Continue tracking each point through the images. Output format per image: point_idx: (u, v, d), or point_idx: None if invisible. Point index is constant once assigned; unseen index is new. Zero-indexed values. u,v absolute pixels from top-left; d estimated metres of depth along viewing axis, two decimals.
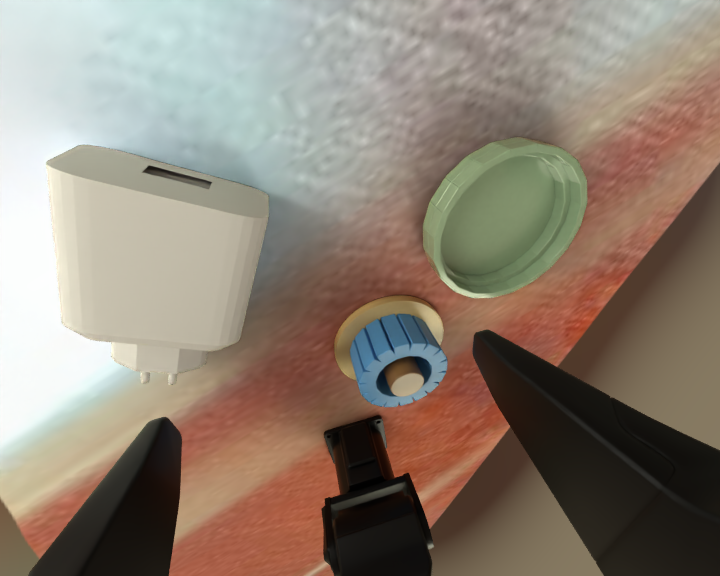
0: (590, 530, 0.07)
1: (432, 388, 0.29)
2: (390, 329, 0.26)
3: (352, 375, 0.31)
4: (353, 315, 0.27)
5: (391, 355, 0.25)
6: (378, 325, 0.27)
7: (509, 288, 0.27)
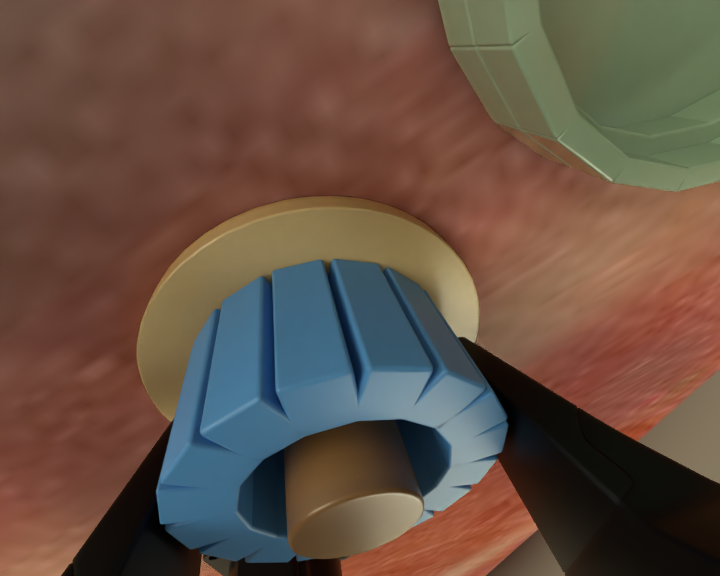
0: (558, 541, 0.07)
1: (450, 502, 0.09)
2: (289, 309, 0.07)
3: None
4: (175, 263, 0.08)
5: (271, 423, 0.05)
6: (254, 295, 0.07)
7: None
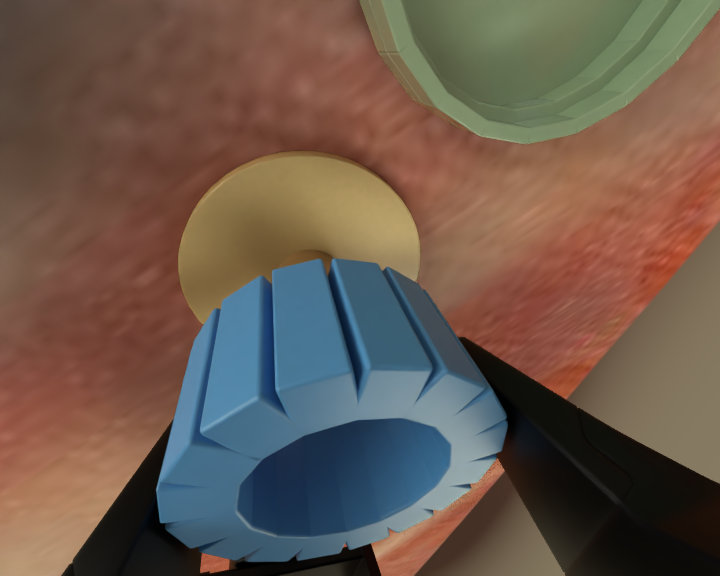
0: (558, 541, 0.07)
1: (449, 501, 0.09)
2: (289, 308, 0.07)
3: None
4: (206, 194, 0.12)
5: (271, 422, 0.05)
6: (254, 294, 0.07)
7: (571, 120, 0.11)
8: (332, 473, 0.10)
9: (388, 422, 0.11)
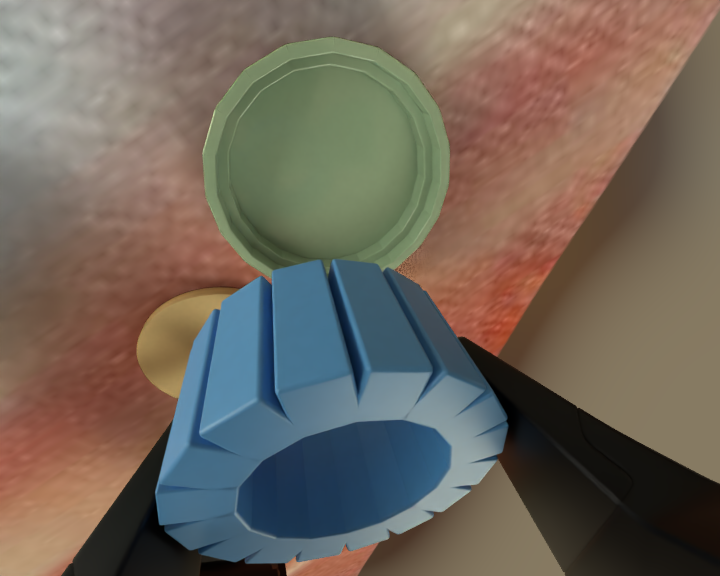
0: (558, 541, 0.07)
1: (450, 502, 0.09)
2: (289, 309, 0.07)
3: None
4: (152, 315, 0.20)
5: (271, 424, 0.05)
6: (254, 295, 0.07)
7: None
8: (332, 474, 0.10)
9: (388, 423, 0.10)
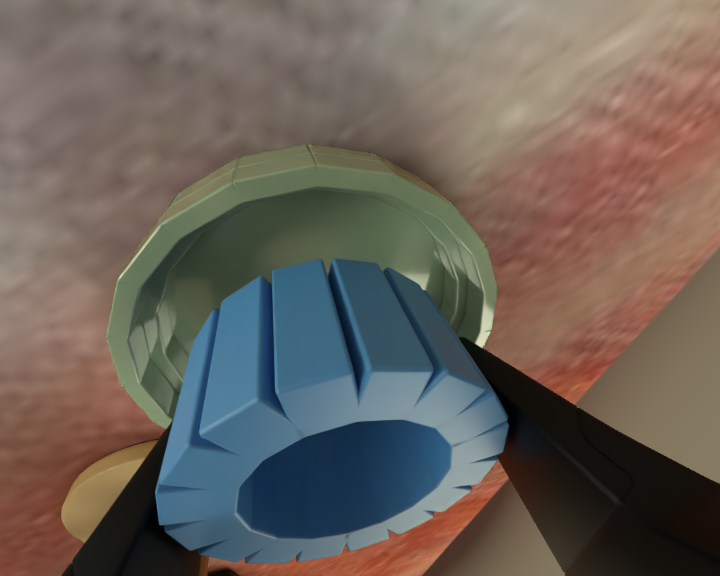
0: (558, 541, 0.07)
1: (450, 502, 0.09)
2: (289, 309, 0.07)
3: None
4: (78, 481, 0.14)
5: (271, 424, 0.05)
6: (254, 294, 0.07)
7: None
8: (332, 474, 0.10)
9: (388, 423, 0.10)
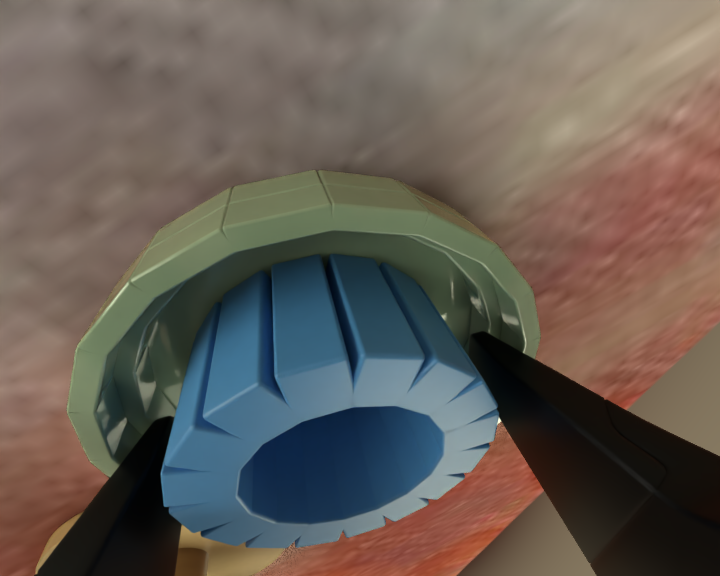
0: (584, 532, 0.07)
1: (444, 490, 0.09)
2: (288, 301, 0.07)
3: None
4: (54, 539, 0.13)
5: (270, 407, 0.06)
6: (254, 288, 0.08)
7: None
8: (330, 463, 0.10)
9: (384, 414, 0.11)
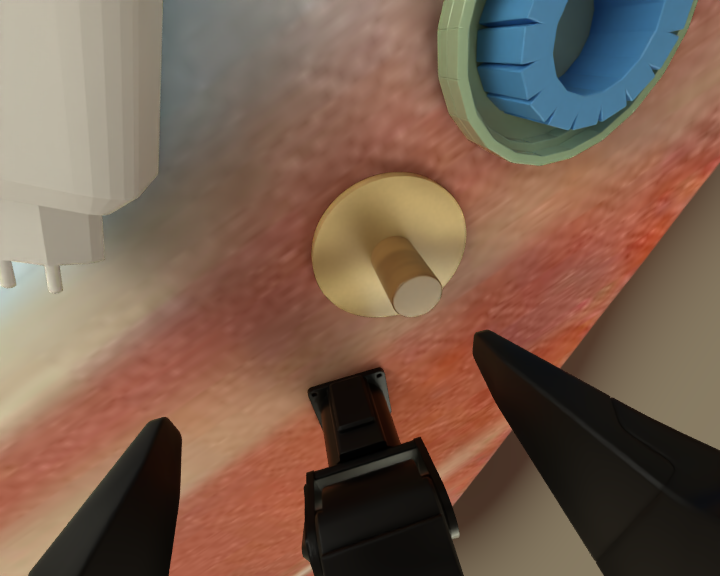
0: (590, 530, 0.07)
1: (641, 86, 0.15)
2: None
3: (340, 302, 0.22)
4: (336, 201, 0.19)
5: None
6: None
7: (568, 150, 0.18)
8: None
9: (584, 73, 0.16)
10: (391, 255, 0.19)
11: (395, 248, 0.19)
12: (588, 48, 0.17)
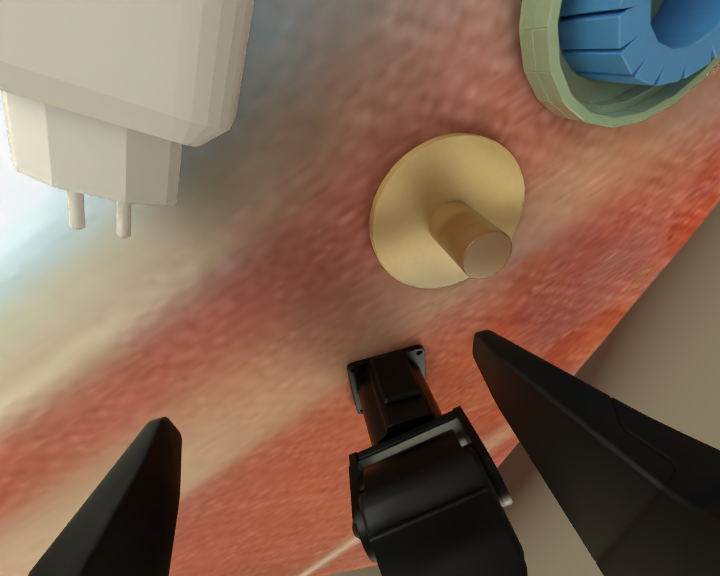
0: (590, 530, 0.07)
1: None
2: None
3: (393, 269, 0.22)
4: (403, 160, 0.18)
5: None
6: None
7: (639, 113, 0.18)
8: None
9: (662, 33, 0.16)
10: (457, 216, 0.18)
11: (459, 210, 0.19)
12: (666, 8, 0.17)
